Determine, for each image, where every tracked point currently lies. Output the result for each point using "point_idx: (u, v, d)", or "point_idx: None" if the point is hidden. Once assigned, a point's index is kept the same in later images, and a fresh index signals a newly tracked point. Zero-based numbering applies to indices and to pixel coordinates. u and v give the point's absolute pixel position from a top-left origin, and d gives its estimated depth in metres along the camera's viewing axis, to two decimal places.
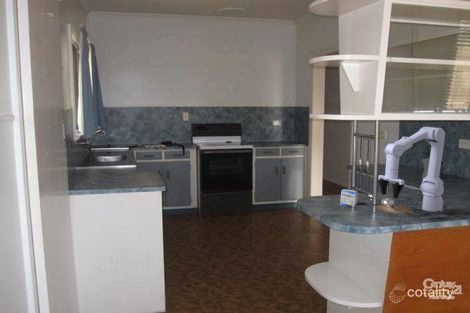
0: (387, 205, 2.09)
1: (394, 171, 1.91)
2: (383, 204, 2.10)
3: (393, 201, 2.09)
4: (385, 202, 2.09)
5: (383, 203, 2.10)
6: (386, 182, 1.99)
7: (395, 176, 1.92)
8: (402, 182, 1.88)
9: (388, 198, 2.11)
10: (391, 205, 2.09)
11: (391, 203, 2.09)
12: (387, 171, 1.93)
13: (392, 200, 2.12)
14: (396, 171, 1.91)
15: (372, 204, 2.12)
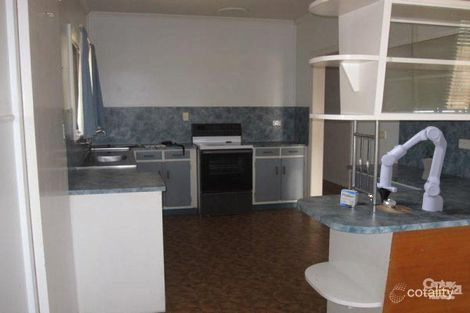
0: (389, 206, 2.07)
1: (388, 179, 2.09)
2: (385, 205, 2.09)
3: (395, 202, 2.08)
4: (387, 203, 2.08)
5: (385, 203, 2.09)
6: None
7: (389, 184, 2.10)
8: (395, 190, 2.06)
9: (390, 199, 2.10)
10: (393, 206, 2.08)
11: (393, 204, 2.07)
12: (381, 179, 2.11)
13: (394, 201, 2.10)
14: (389, 179, 2.10)
15: (372, 204, 2.12)
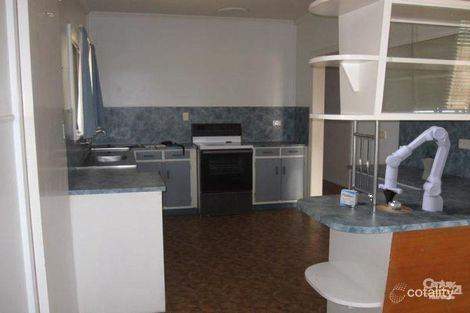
0: (394, 208, 2.04)
1: (393, 181, 2.06)
2: (390, 206, 2.06)
3: (400, 203, 2.05)
4: (392, 204, 2.05)
5: (390, 205, 2.06)
6: None
7: (394, 185, 2.07)
8: (400, 191, 2.03)
9: (395, 200, 2.07)
10: (398, 208, 2.04)
11: (398, 205, 2.04)
12: (386, 181, 2.08)
13: (399, 202, 2.07)
14: (395, 180, 2.06)
15: (372, 204, 2.12)
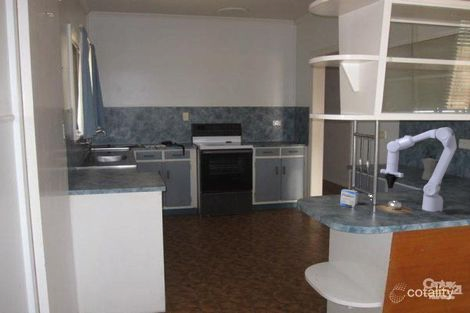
0: (394, 207, 2.04)
1: (394, 165, 2.14)
2: (390, 206, 2.06)
3: (400, 203, 2.05)
4: (392, 204, 2.05)
5: (390, 205, 2.06)
6: None
7: (395, 170, 2.15)
8: (401, 175, 2.11)
9: (395, 200, 2.07)
10: (398, 208, 2.04)
11: (398, 205, 2.04)
12: (388, 165, 2.16)
13: (399, 202, 2.07)
14: (396, 165, 2.15)
15: (372, 204, 2.12)
